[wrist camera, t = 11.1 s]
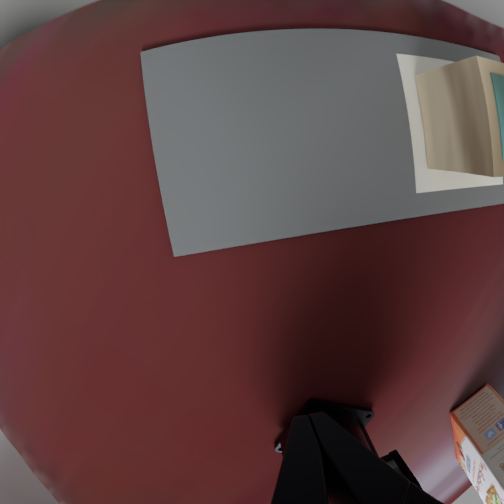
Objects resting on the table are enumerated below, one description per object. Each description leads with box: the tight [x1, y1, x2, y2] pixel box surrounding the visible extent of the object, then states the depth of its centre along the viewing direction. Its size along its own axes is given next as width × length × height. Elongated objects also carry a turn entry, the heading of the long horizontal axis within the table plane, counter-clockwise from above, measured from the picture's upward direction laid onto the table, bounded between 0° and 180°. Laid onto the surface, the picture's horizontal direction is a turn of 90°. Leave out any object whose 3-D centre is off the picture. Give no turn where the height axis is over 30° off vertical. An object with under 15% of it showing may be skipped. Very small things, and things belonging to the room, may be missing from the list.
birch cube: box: [415, 56, 504, 177], centre depth 13 cm, size 6×6×6 cm
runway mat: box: [140, 29, 504, 257], centre depth 16 cm, size 26×12×1 cm, turn 99°
